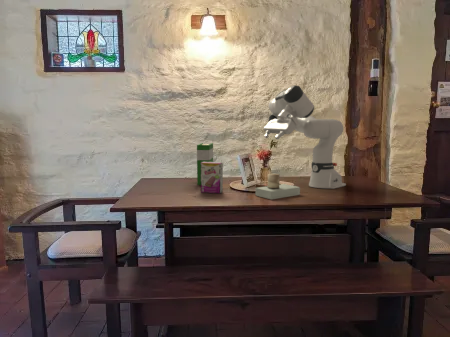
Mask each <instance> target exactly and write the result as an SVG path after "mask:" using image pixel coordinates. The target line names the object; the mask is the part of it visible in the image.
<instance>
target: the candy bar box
mask: <svg viewBox="0 0 450 337" xmlns="http://www.w3.org/2000/svg"><path fill="white" fill-rule="evenodd" d="M223 170H224V163H223V162H222V161H221V162H220V161H218V162H217V161H213V162H201V185H200V193H205V194H222V193H223V190H224V189H223V186H224V185H223V184H224V180H223V179H224V178H223V177H224V175H223V174H224V171H223Z"/></svg>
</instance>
